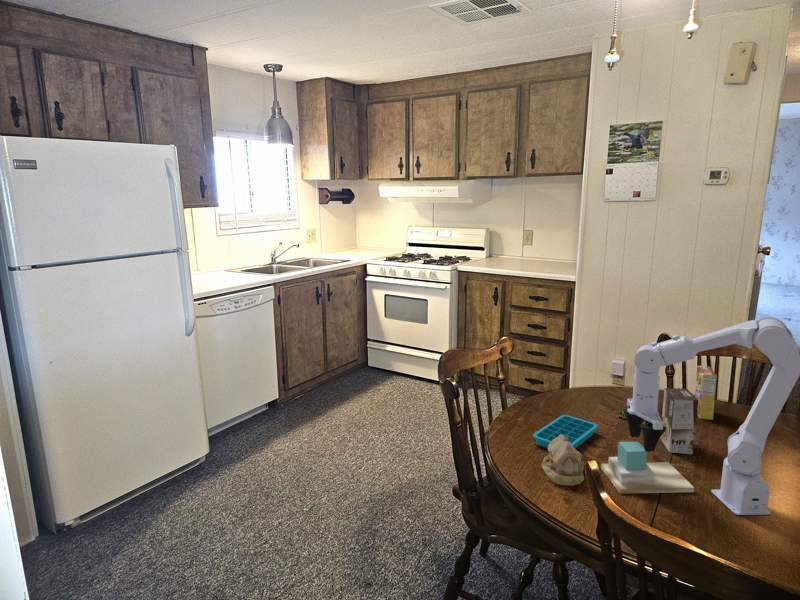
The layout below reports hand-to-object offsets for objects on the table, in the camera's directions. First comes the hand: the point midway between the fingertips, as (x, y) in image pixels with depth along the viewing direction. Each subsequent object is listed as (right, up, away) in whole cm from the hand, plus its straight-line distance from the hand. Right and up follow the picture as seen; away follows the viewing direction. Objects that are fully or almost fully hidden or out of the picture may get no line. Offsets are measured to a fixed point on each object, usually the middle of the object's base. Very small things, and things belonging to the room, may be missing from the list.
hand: (641, 443), depth 128 cm
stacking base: (+1, -9, +1) cm, 9 cm away
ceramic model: (-18, -9, +5) cm, 21 cm away
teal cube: (-3, -5, 0) cm, 6 cm away
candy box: (+38, -1, +38) cm, 54 cm away
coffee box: (+18, -6, +17) cm, 26 cm away
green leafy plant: (+15, -3, +36) cm, 39 cm away
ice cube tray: (-12, -6, +23) cm, 27 cm away
